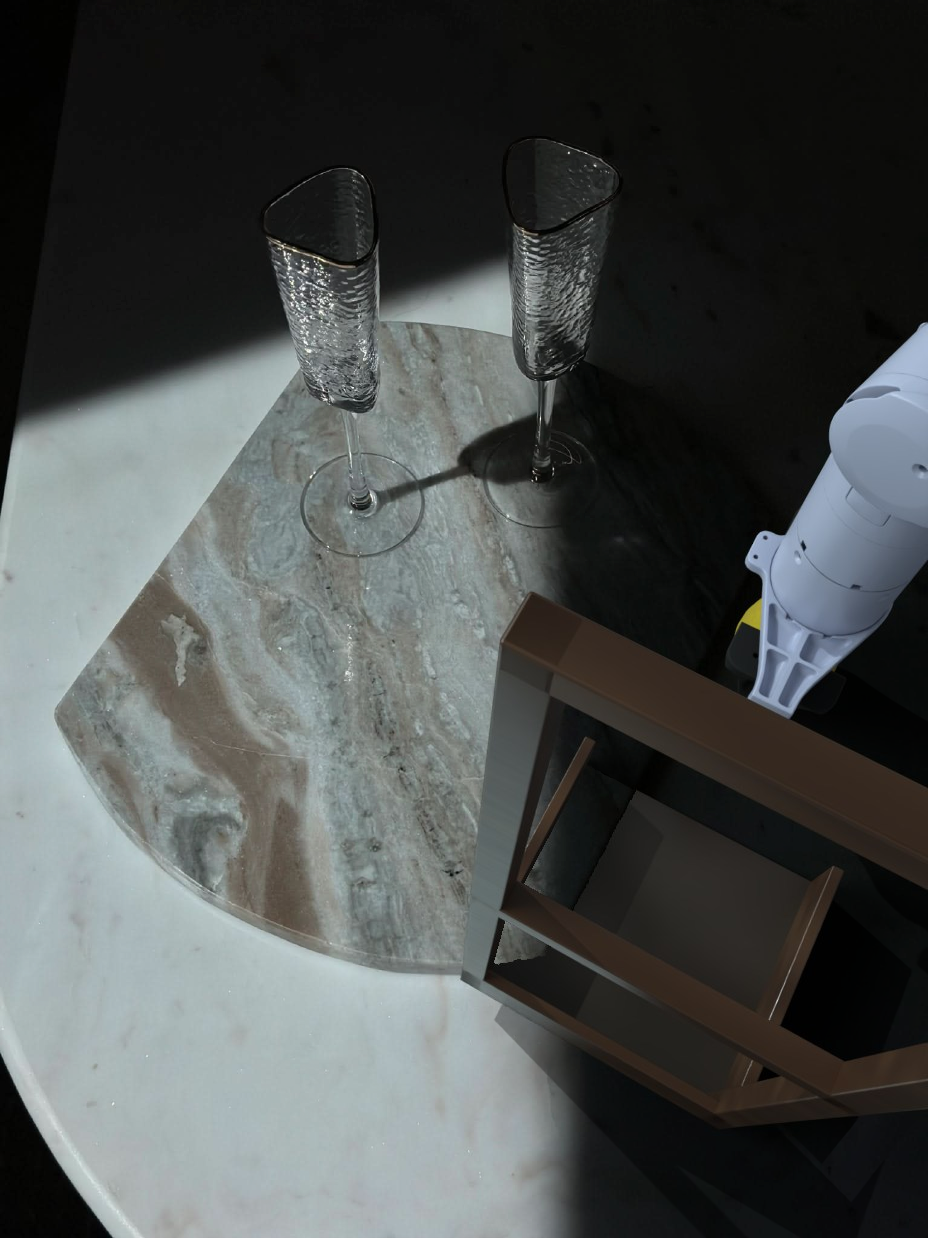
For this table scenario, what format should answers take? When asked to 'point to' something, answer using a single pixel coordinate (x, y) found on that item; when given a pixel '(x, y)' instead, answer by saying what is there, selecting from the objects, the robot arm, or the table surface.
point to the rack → (679, 883)
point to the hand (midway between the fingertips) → (779, 656)
